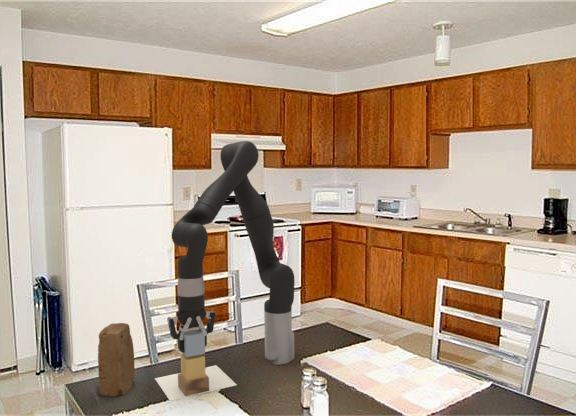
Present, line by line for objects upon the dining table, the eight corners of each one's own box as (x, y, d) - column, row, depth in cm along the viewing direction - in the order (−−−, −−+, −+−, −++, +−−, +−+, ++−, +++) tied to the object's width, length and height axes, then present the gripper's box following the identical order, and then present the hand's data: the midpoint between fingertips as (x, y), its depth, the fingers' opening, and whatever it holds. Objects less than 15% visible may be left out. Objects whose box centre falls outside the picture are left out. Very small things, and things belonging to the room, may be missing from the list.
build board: (216, 368, 161) (216, 365, 161) (237, 388, 147) (237, 384, 146) (154, 382, 152) (154, 378, 152) (170, 405, 137) (170, 400, 137)
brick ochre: (199, 370, 148) (198, 350, 147) (205, 376, 143) (204, 356, 142) (181, 374, 145) (180, 354, 144) (186, 381, 140) (186, 360, 140)
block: (121, 401, 139) (119, 332, 138) (96, 400, 140) (93, 331, 139) (138, 384, 150) (136, 320, 148) (115, 383, 151) (112, 319, 149)
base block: (201, 381, 149) (200, 368, 149) (209, 390, 143) (208, 377, 142) (178, 386, 146) (177, 373, 145) (185, 396, 139) (185, 382, 139)
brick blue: (198, 347, 147) (198, 327, 147) (205, 353, 142) (204, 333, 142) (180, 351, 144) (180, 330, 144) (186, 357, 140) (185, 336, 139)
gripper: (210, 286, 149) (211, 341, 150) (162, 292, 142) (164, 350, 143) (219, 291, 142) (220, 349, 143) (169, 298, 135) (171, 359, 136)
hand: (192, 349), depth 143 cm, fingers closed on brick blue, 5 cm apart
